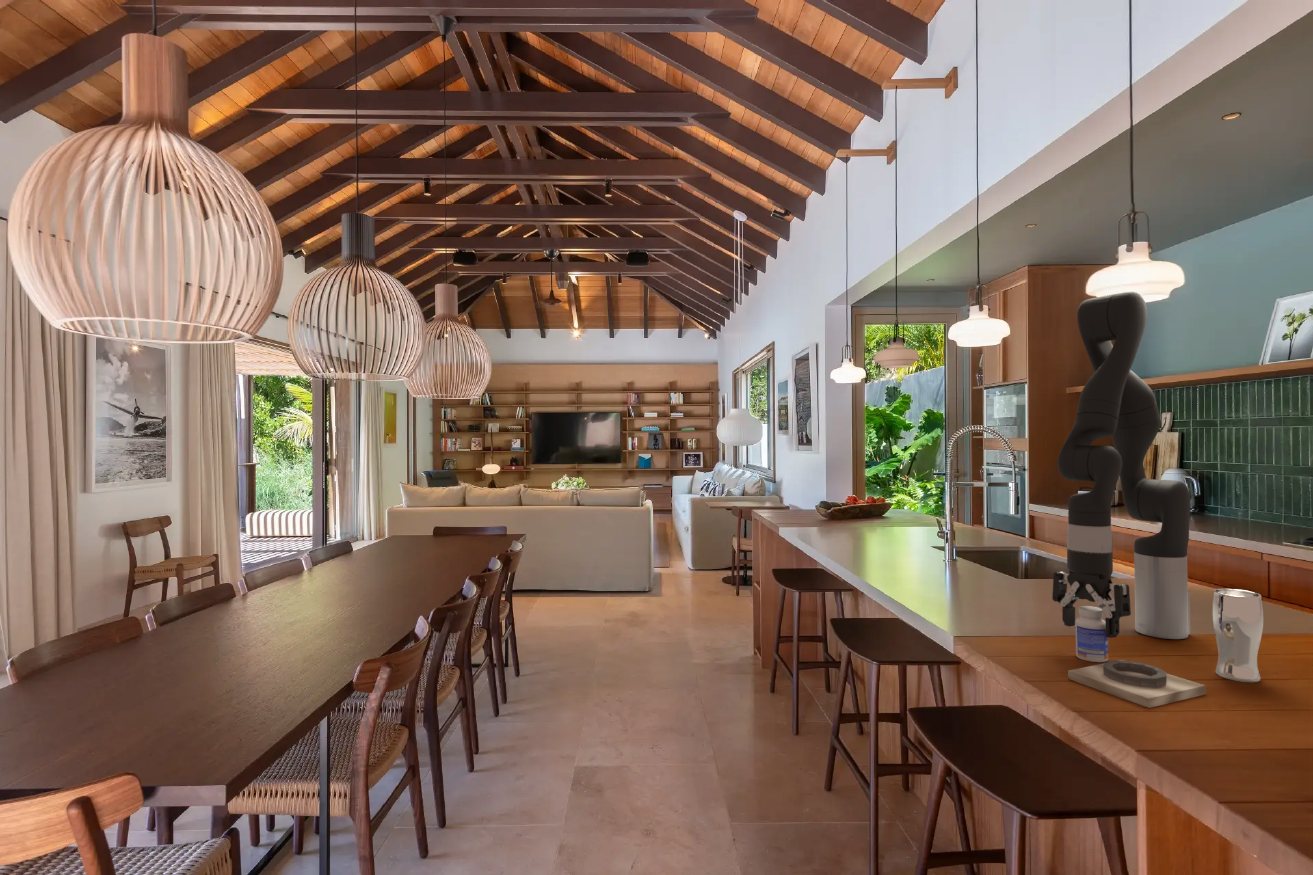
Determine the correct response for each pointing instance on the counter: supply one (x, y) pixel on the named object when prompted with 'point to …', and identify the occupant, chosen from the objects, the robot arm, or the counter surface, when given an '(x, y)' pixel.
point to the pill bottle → (1091, 635)
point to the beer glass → (1237, 633)
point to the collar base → (1138, 692)
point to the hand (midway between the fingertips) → (1089, 631)
